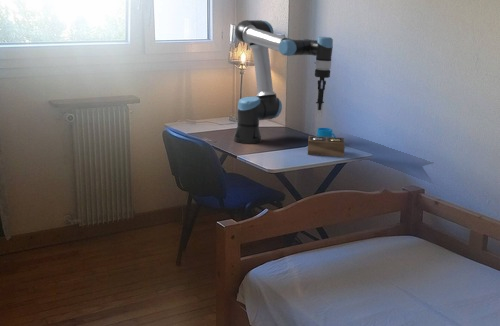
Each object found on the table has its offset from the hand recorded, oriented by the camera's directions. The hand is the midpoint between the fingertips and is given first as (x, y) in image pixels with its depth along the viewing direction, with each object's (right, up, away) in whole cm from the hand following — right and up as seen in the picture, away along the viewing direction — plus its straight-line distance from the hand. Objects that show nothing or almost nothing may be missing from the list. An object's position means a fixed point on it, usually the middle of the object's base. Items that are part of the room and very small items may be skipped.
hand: (318, 115), depth 287 cm
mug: (+7, -14, +23) cm, 27 cm away
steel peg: (-1, -18, +5) cm, 19 cm away
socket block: (+4, -19, +4) cm, 19 cm away
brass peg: (+8, -19, +4) cm, 21 cm away
